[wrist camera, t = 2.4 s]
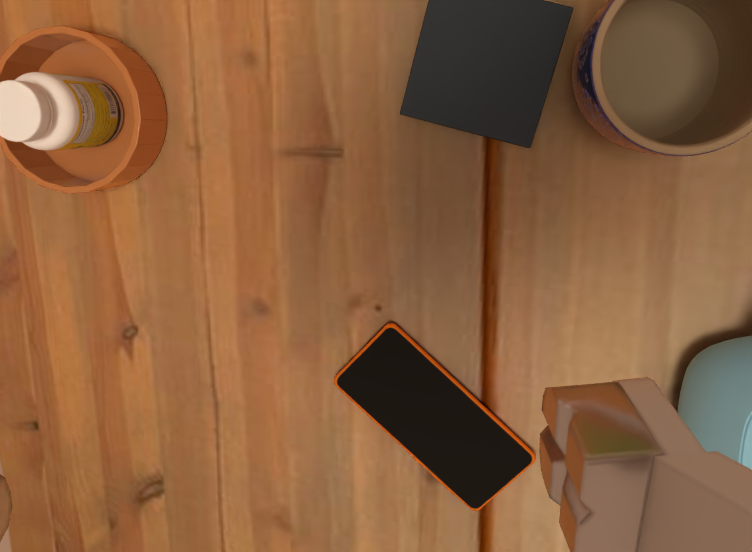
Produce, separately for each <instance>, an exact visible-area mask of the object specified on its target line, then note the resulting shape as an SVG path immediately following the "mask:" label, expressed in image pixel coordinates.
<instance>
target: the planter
mask: <svg viewBox="0 0 752 552" xmlns="http://www.w3.org/2000/svg"><path fill="white" fill-rule="evenodd" d="M572 85H573V92H574V96H575V99H576V102H577V105H578V107H579V109H580V111H581V113H582V114H583V116H584V118H585V119H586V120H587V122H588V123H589V124H590V125H591V126H592V127H593V128H594V129H595V130H596V131H597V132H598V133H599V134H601V135H602V136H604V137H605V138H607V139H608V140H610V141H612V142H613V143H615V144H618V145H620V146H622V147H625V148H627V149H631V150H634V151H639V152H643V153H648V154H654V155H663V156H693V155H700V154H705V153H709V152H713V151H716V150H719V149H722V148H724V147H726V146H729V145H731V144H733V143H735V142H736V141H738V140H740V139H742V138H743V137H745V136H746V135H748V134H749V133H750V132H752V0H608V1H607V2H606V3H605V4H604V5H603V6H602V7H601V8H600V9H599V10H598V12H597V13H596V14H595V15H594V17H593V18H592V20H591V21H590V23H589V24H588V26H587V27H586V29H585V31H584V33H583V34H582V37H581V39H580V41H579V43H578V46H577V48H576V52H575V55H574V60H573V66H572Z"/></svg>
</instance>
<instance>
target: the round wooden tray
mask: <svg viewBox="0 0 752 552" xmlns="http://www.w3.org/2000/svg"><path fill="white" fill-rule="evenodd" d="M31 72H45V73H54V74H63V75H73V76H82V77H90V78H95V79H98V80H101V81H103V82H105V83H106V84H108V85H109V86H110V87H111V88H112V89H113V90H114V91H115V92H116V94H117V95H118V97H119V99H120V102H121V104H122V108H123V122H122V126H121V129H120V131H119V133H118V134H117V136H116V137H115V138H114V139H113V140H112V141H110V142H109V143H107V144H105V145H102V146H97V147H87V148H74V149H61V150H38V149H34V148H32V147H29V146H27V145H25V144H24V143H22V142H14V141H10V140H7V139H5V138H3V137H1V136H0V144H1V147H2V149H3V151H4V153H5V154H6V156H7V157H8V158H9V159H10V160H11V161H12V162H13V164H14V165H15V166H16V167H17V168H18V169H19V171H20V172H21V173H22V174H24V175H25V176H27V177H28V178H30V179H31V180H33V181H34V182H36V183H38V184H39V185H41V186H42V187H45V188H48V189H52V190H56V191H59V192H63V193H82V192H92V191H98V190H104V189H109V188H115V187H118V186H120V185H124V184H126V183H129V182H131V181H133V180H134V179H136V178H138V177H139V176H140V175H142V174H143V173H144V172H145V171H146V170H147V169H148V168H149V167H150V166H151V165H152V163H153V162H154V161H155V159H156V158H157V156H158V154H159V152H160V150H161V147H162V145H163V142H164V138H165V134H166V127H167V110H166V103H165V99H164V95H163V92H162V89H161V86H160V84H159V82H158V80H157V78H156V76H155V74H154V72H153V71H152V70H151V68H150V67H149V65H148V64H147V63H146V62H145V61H144V60H143V58H142V57H141V56H140V55H138V54H137V53H136V52H135V51H134V50H132V49H131V48H129V47H128V46H127V45H125V44H123V43H121V42H119V41H117V40H115V39H112V38H109V37H105V36H101V35H97V34H93V33H89V32H85V31H81V30H77V29H73V28H69V27H65V26H56V27H45V28H38V29H36V30H34V31H32V32H30V33H28V34H26V35H24V36H22V37H20V38H18V39H17V40H16V41H15V42H14V43H13V44H12V45H11V46H10V47H9V49H8V50H7V51H6V52H5V53H4V54H3V55H2V57H1V58H0V82H2V81H7V80H15V79H16V78H18V77H19V76H21V75H23V74H26V73H31Z"/></svg>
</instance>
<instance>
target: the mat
mask: <svg viewBox="0 0 752 552" xmlns="http://www.w3.org/2000/svg"><path fill="white" fill-rule="evenodd" d="M572 11H573V7H569V6H564V5H560V4H556V3H552V2H548V1H544V0H429V2H428V6H427V10H426V13H425V17H424V21H423V25H422V29H421V33H420V37H419V41H418V45H417V49H416V53H415V57H414V60H413V64H412V68H411V72H410V76H409V80H408V84H407V88H406V92H405V96H404V100H403V104H402V107H401V111H400V114H401V115H405V116H409V117H413V118H416V119H420V120H424V121H428V122H432V123H435V124H439V125H443V126H447V127H451V128H454V129H458V130H462V131H466V132H470V133H474V134H477V135H481V136H485V137H489V138H493V139H496V140H500V141H504V142H508V143H512V144H515V145H519V146H523V147H527V148H530V147H531V144H532V141H533V137H534V134H535V131H536V128H537V124H538V121H539V118H540V115H541V111H542V108H543V105H544V102H545V98H546V95H547V92H548V89H549V86H550V82H551V79H552V76H553V73H554V69H555V66H556V63H557V60H558V56H559V53H560V50H561V47H562V43H563V40H564V37H565V34H566V30H567V27H568V24H569V21H570V18H571V14H572Z"/></svg>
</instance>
